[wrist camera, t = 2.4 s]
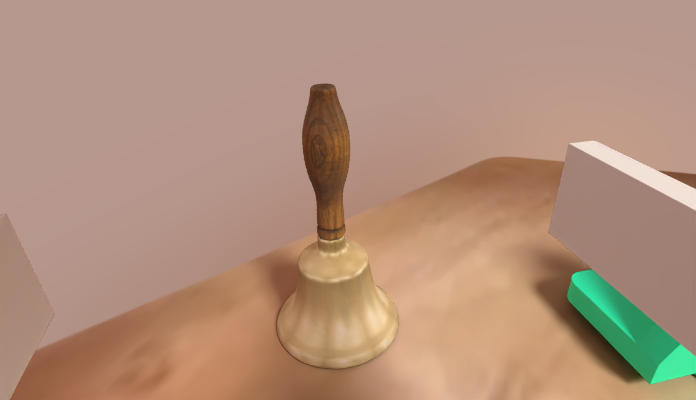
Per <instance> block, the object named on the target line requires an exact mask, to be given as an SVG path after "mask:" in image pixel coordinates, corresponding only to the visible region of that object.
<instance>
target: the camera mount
mask: <svg viewBox="0 0 696 400" xmlns="http://www.w3.org/2000/svg"><path fill="white" fill-rule="evenodd" d="M567 298H568V300H569V302H570V303H571V304H572V305H573V306H574V307H575V308H576V309H577V310H578V311H579V312H580V313H581V314H582V315H583V316H584V317H585V318H586V319H587V320H588V321H589V322H590V323H591V324H592V325H593V326H594V327H595V328H596V329H597V330H598V331H599V332H600V333H601V335H602V336H603V337H604V338H605V339H606V340H607V341H608V342H609V343H610V344H611V345H612V346H613V347H614V348H615V349H616V350H617V351H618V352H619V353H620V354H621V355H622V356H623V357H624V358H625V359H626V360H627V361H628V362H629V363H630V364H631V365H632V366H633V367H634V368H635V369H636V370H637V372H638V373H639V374H640V375H641V376H642V377H643V378H644V379H645V380H646V381H647V382H648V383H649V384H654V383H658V382H662V381H666V380H670V379H674V378H678V377H682V376H686V375H690V374H694V375H695V376H696V357H695V356H694V355H693V354H692V353H691V352H689V351H688V350H687V349H686V348H685V347H683V346H682V345H681V344H680V343H679V342H678V341H676V340H675V339H674V338H673V337H672V336H670V335H669V334H668V333H667V332H666V331H665V330H663V329H662V328H661V327H660V326H659V325H657V324H656V323H655V322H654V321H653V320H652V319H650V318H649V317H648V316H647V315H646V314H644V313H643V312H642V311H641V310H640V309H639V308H637V307H636V306H635V305H634V304H633V303H631V302H630V301H629V300H628V299H627V298H626V297H624V296H623V295H622V294H621V293H620V292H618V291H617V290H616V289H615V288H614V287H613V286H611V285H610V284H609V283H608V282H607V281H605V280H604V279H603V278H602V277H601V276H600V275H598V274H597V273H596V272H595V271H594V270H592V269H591V270H586V271H581V272H576V273H574V274H573V275H572V278H571V282H570V285H569V289H568V293H567Z"/></svg>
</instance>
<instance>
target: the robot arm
mask: <svg viewBox="0 0 696 400" xmlns="http://www.w3.org/2000/svg"><path fill="white" fill-rule="evenodd" d="M549 233H550V234H551V235H552V236H553V237H555V238H556V239H557V240H558V241H559V242H561V243H562V244H563V245H564V246H565V247H566V248H568V249H569V250H570V251H571V252H572V253H574V254H575V255H576V256H577V257H578V258H579V259H581V260H582V261H583V262H584V263H585V264H587V265H588V266H589V267H590V268H591V269H592V270H594V271H595V272H596V273H597V274H598V275H600V276H601V277H602V278H603V279H604V280H605V281H607V282H608V283H609V284H610V285H611V286H613V287H614V288H615V289H616V290H617V291H618V292H620V293H621V294H622V295H623V296H624V297H626V298H627V299H628V300H629V301H630V302H631V303H633V304H634V305H635V306H636V307H637V308H639V309H640V310H641V311H642V312H643V313H644V314H646V315H647V316H648V317H649V318H650V319H652V320H653V321H654V322H655V323H656V324H657V325H659V326H660V327H661V328H662V329H663V330H665V331H666V332H667V333H668V334H669V335H670V336H672V337H673V338H674V339H675V340H676V341H678V342H679V343H680V344H681V345H682V346H683V347H685V348H686V349H687V350H688V351H689V352H691V353H692V354H693V355H694V356H695V357H696V189H695V188H692V187H690V186H688V185H686V184H684V183H682V182H680V181H678V180H676V179H674V178H672V177H670V176H667V175H665V174H663V173H661V172H659V171H657V170H655V169H653V168H651V167H649V166H647V165H645V164H642V163H640V162H638V161H636V160H634V159H632V158H630V157H628V156H626V155H624V154H622V153H620V152H618V151H616V150H613V149H611V148H609V147H607V146H605V145H603V144H601V143H599V142H597V141H595V140H594V141H586V142H577V143H569V145H568V150H567V154H566V159H565V163H564V167H563V171H562V176H561V180H560V184H559V189H558V193H557V197H556V202H555V206H554V210H553V215H552V219H551V223H550V228H549ZM53 316H54V312H53V310H52V308H51V306H50V304H49V301H48V299H47V297H46V295H45V293H44V291H43V289H42V287H41V285H40V283H39V281H38V279H37V276H36V274H35V272H34V270H33V268H32V266H31V264H30V262H29V260H28V258H27V255H26V254H25V252H24V249H23V247H22V245H21V243H20V241H19V239H18V237H17V235H16V233H15V230H14V228H13V226H12V224H11V222H10V220H9V218H8V216H7V214H0V400H10V398H11V396H12V394H13V392H14V390H15V389H16V387H17V385H18V383H19V381H20V379H21V377H22V375H23V373H24V371H25V369H26V368H27V366H28V364H29V362H30V360H31V358H32V356H33V354H34V352H35V350H36V349H37V347H38V345H39V343H40V341H41V339H42V337H43V335H44V333H45V331H46V329H47V328H48V326H49V324H50V322H51V320H52V318H53Z"/></svg>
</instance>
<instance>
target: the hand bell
mask: <svg viewBox="0 0 696 400" xmlns="http://www.w3.org/2000/svg"><path fill="white" fill-rule="evenodd" d="M302 140H303V141H302V143H303V154H304V160H305V165H306V169H307V172H308V175H309V178H310V181H311V183H312V185H313V188H314V191H315V194H316V201H317V224H318V226H317V233H318V241H317V242H315V243H313V244H311V245H309V246H308V247H307V248H305V249H304V251H303V252H302V253H301V255H300V257H299V260H298V280H297V287H296V291H295V292H294V293H293V294H292V295H291V296H290V297H289V298H288V299H287V301H286V302H285V303H284V305H283V307H282V309H281V311H280V313H279V316H278V320H277V333H278V337H279V339H280V342H281V343H282V345H283V346H284V348H285V349H286V350H287V351H288V352H289V353H290V354H291V355H292V356H293V357H295V358H296V359H298V360H300V361H301V362H303V363H306V364H308V365H312V366H316V367H320V368H334V369H337V368H347V367H351V366H356V365H360V364H363V363H365V362H367V361H369V360H371V359H373V358H375V357H376V356H378V355H379V354H381V353H382V352H383V351H384V350H385V349H386V348H387V347H388V346H389V345H390V344H391V342H392V341H393V339H394V338H395V336H396V333H397V330H398V325H399V315H398V311H397V308H396V306H395V304H394V302H393V301H392V299H391V298H390V296H389V295H388V294H387V293H386V292H385V291H384V290H383V289H382V288H380V287H379V286H377V285H376V284H375V283H374V281H373V278H372V274H371V270H370V265H369V259H368V255H367V253H366V251H365V249H364V248H363V247H362V246H361V245H359V244H358V243H356V242H354V241H351V240H348V239H345V224H344V211H343V188H344V184H345V181H346V177H347V173H348V168H349V160H350V159H349V158H350V140H349V130H348V126H347V122H346V119H345V116H344V113H343V110H342V108H341V105H340V103H339V100H338V97H337V92H336V88H335V86H334V85H332V84H317V85H313V86H312V87H311V89H310V97H309V103H308V107H307V111H306V115H305V119H304V124H303V132H302Z"/></svg>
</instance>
